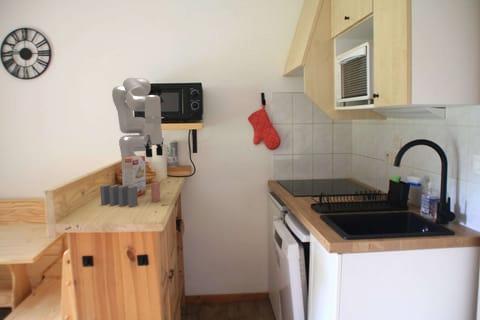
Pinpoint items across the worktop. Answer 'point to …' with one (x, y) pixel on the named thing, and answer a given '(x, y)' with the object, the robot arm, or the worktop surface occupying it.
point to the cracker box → (135, 173)
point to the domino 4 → (132, 196)
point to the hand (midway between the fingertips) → (154, 156)
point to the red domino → (155, 192)
